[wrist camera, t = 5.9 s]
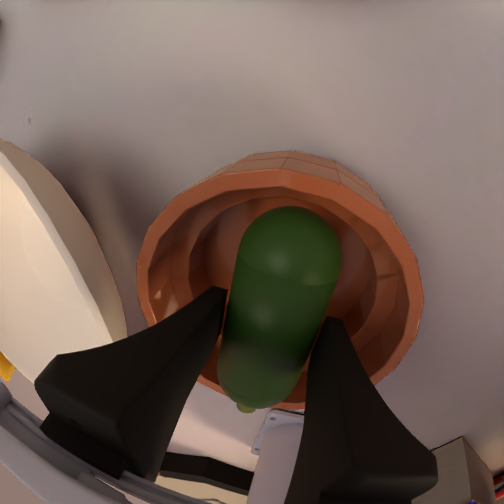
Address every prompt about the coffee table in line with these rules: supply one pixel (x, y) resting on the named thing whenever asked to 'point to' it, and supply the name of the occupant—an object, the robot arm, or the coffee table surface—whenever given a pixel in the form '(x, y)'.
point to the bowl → (49, 270)
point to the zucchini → (276, 304)
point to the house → (459, 477)
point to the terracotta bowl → (264, 199)
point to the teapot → (6, 368)
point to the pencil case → (499, 487)
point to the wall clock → (205, 479)
